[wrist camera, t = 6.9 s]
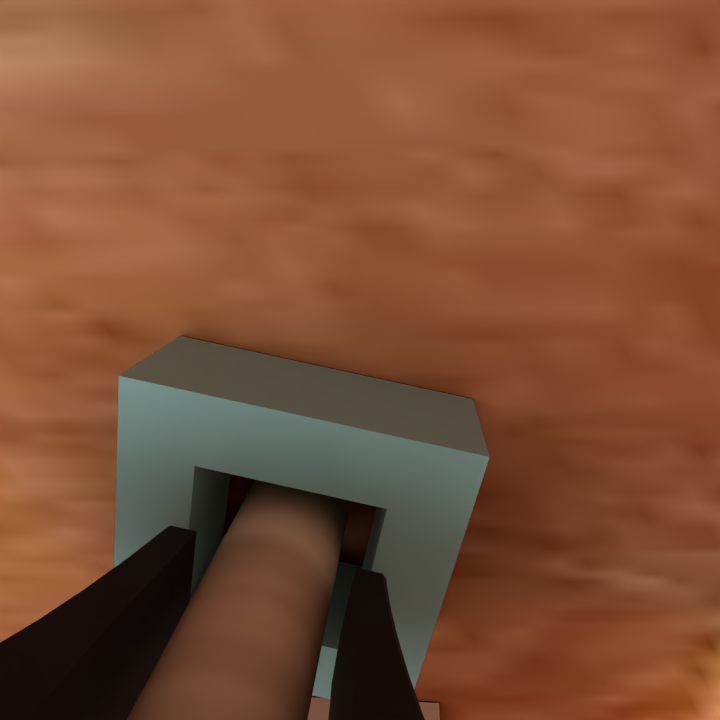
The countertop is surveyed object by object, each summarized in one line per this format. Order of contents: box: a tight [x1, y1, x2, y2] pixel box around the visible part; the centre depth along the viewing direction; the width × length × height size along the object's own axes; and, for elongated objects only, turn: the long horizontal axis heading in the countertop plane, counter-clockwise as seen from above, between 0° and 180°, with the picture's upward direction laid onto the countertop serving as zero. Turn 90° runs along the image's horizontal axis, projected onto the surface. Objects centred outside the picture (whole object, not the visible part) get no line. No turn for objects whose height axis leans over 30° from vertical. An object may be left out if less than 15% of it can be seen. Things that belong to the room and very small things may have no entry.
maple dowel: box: [127, 480, 350, 720], centre depth 11 cm, size 3×3×8 cm
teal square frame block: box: [114, 336, 490, 700], centre depth 13 cm, size 8×8×3 cm
